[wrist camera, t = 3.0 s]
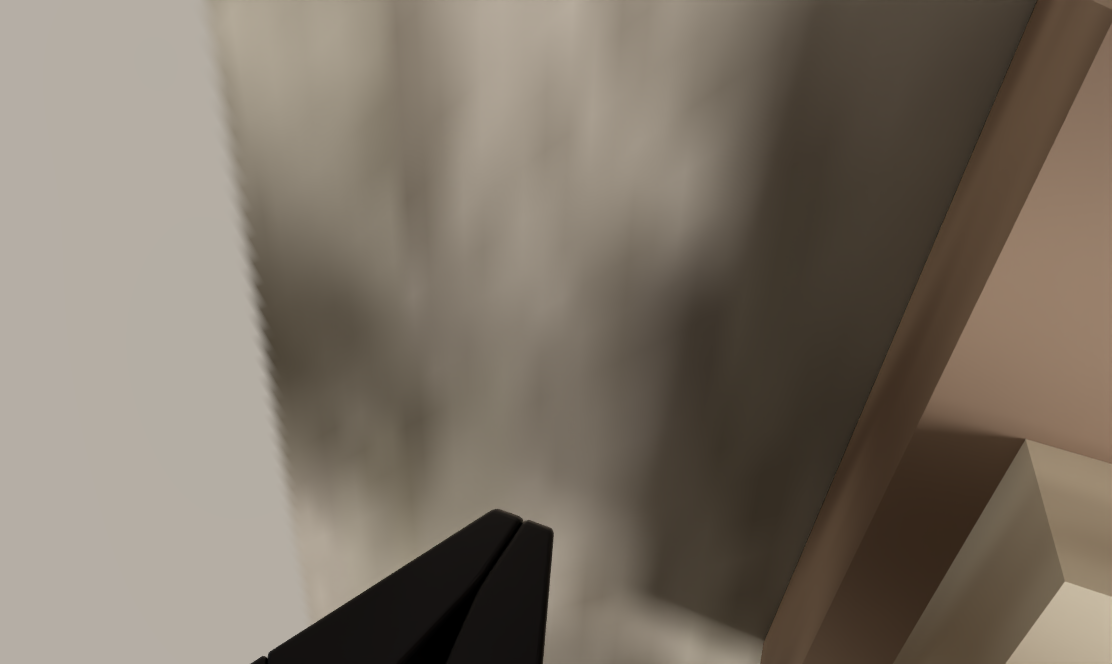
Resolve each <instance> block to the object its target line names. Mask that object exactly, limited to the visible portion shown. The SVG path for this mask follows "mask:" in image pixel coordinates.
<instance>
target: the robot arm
mask: <svg viewBox="0 0 1112 664" xmlns="http://www.w3.org/2000/svg"><path fill="white" fill-rule="evenodd" d="M553 537H554V532H553V530H552V529H551V528H549V527H547V526H544V525H541V524H539V523H536V522H533V521H530V520H527V521H525V522H523V519H522V518H521V517H519V516H517V515H514V514H511V513H509V512H506V511H503V510H500V509H494V510H491V511H490V512H488V513H486V514H485V515H483V516H482V517H480V518H479V519H477V520H475V521H474V522H472V523H471V524H469V525H468V526H466V527H465V528H463V529H461V530H460V531H458V532H457V533H455V534H454V535H452V536H450V537H449V538H447V539H446V540H444V541H443V542H441V543H439V544H438V545H436V546H435V547H433V548H432V549H430V550H428V551H427V552H425V553H424V554H422V555H421V556H419V557H418V558H416V559H414V560H413V561H411V562H410V563H408V564H407V565H405V566H403V567H402V568H400V569H399V570H397V571H396V572H394V573H392V574H391V575H389V576H388V577H386V578H385V579H383V580H381V581H380V582H378V583H377V584H375V585H374V586H372V587H371V588H369V589H367V590H366V591H364V592H363V593H361V594H360V595H358V596H356V597H355V598H353V599H352V600H350V601H349V602H347V603H345V604H344V605H342V606H341V607H339V608H338V609H336V610H334V611H333V612H331V613H330V614H328V615H327V616H325V617H324V618H322V619H320V620H319V621H317V622H316V623H314V624H313V625H311V626H309V627H308V628H306V629H305V630H303V631H302V632H300V633H299V634H297V635H295V636H294V637H292V638H291V639H289V640H287V641H286V642H284V643H283V644H281V645H280V646H278V647H277V648H275V649H273V650H272V651H270V652H269V654H268V658H267V657H265V656H262V657H260V658H259V659H257V660H256V661H254V662H253V663H251V664H543V657H544V645H545V633H546V621H547V609H548V597H549V585H550V573H551V561H552V549H553Z"/></svg>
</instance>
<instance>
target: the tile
mask: <svg viewBox="0 0 1112 664" xmlns="http://www.w3.org/2000/svg"><path fill="white" fill-rule="evenodd" d="M893 664H1112V464H1110V463H1107V462H1103V461H1100V460H1096V459H1093V458H1089V457H1086V456H1082V455H1079V454H1076V453H1072V452H1069V451H1065V450H1062V449H1058V448H1055V447H1051V446H1048V445H1044V444H1041V443H1038V442H1034V441H1031V440H1027V439H1025V441H1024V443H1023V444H1022V446H1021V448H1020V449H1019V451H1018V453H1017V455H1016V456H1015V458H1014V460H1013V461H1012V463H1011V465H1010V466H1009V468H1008V470H1007V471H1006V473H1005V475H1004V477H1003V478H1002V480H1001V482H1000V483H999V485H998V487H997V488H996V490H995V492H994V493H993V495H992V497H991V499H990V500H989V502H988V504H987V505H986V507H985V509H984V510H983V512H982V514H981V515H980V517H979V519H978V521H977V522H976V524H975V526H974V527H973V529H972V531H971V532H970V534H969V536H968V537H967V539H966V541H965V543H964V544H963V546H962V548H961V549H960V551H959V553H958V554H957V556H956V558H955V559H954V561H953V563H952V565H951V566H950V568H949V570H948V571H947V573H946V575H945V576H944V578H943V580H942V581H941V583H940V585H939V587H938V588H937V590H936V592H935V593H934V595H933V597H932V598H931V600H930V602H929V603H928V605H927V607H926V609H925V610H924V612H923V614H922V615H921V617H920V619H919V620H918V622H917V624H916V625H915V627H914V629H913V631H912V632H911V634H910V636H909V637H908V639H907V641H906V642H905V644H904V646H903V647H902V649H901V651H900V653H899V654H898V656H897V658H896V659H895V661H894V663H893Z"/></svg>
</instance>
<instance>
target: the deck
mask: <svg viewBox="0 0 1112 664" xmlns="http://www.w3.org/2000/svg"><path fill="white" fill-rule="evenodd" d="M1025 439H1027V440H1031V441H1034V442H1038V443H1041V444H1044V445H1048V446H1051V447H1055V448H1058V449H1062V450H1065V451H1069V452H1072V453H1076V454H1079V455H1082V456H1086V457H1089V458H1093V459H1096V460H1100V461H1103V462H1107V463H1110V464H1112V0H1037V3H1036V5H1035V7H1034V10H1033V12H1032V14H1031V17H1030V19H1029V21H1028V24H1027V26H1026V28H1025V31H1024V33H1023V36H1022V38H1021V40H1020V43H1019V45H1018V47H1017V50H1016V52H1015V54H1014V57H1013V59H1012V61H1011V64H1010V66H1009V68H1008V71H1007V73H1006V75H1005V78H1004V80H1003V82H1002V85H1001V87H1000V89H999V92H998V94H997V97H996V99H995V101H994V104H993V106H992V108H991V111H990V113H989V115H988V118H987V120H986V122H985V125H984V127H983V129H982V132H981V134H980V136H979V139H978V141H977V143H976V146H975V148H974V151H973V153H972V155H971V158H970V160H969V162H968V165H967V167H966V169H965V172H964V174H963V176H962V179H961V181H960V183H959V186H958V188H957V190H956V193H955V195H954V197H953V200H952V202H951V204H950V207H949V209H948V212H947V214H946V216H945V219H944V221H943V223H942V226H941V228H940V230H939V233H938V235H937V237H936V240H935V242H934V244H933V247H932V249H931V251H930V254H929V256H928V258H927V261H926V263H925V266H924V268H923V270H922V273H921V275H920V277H919V280H918V282H917V284H916V287H915V289H914V291H913V294H912V296H911V298H910V301H909V303H908V305H907V308H906V310H905V312H904V315H903V317H902V319H901V322H900V324H899V327H898V329H897V331H896V334H895V336H894V338H893V341H892V343H891V345H890V348H889V350H888V352H887V355H886V357H885V359H884V362H883V364H882V366H881V369H880V371H879V373H878V376H877V378H876V380H875V383H874V385H873V388H872V390H871V392H870V395H869V397H868V399H867V402H866V404H865V406H864V409H863V411H862V413H861V416H860V418H859V420H858V423H857V425H856V427H855V430H854V432H853V434H852V437H851V439H850V442H849V444H848V446H847V449H846V451H845V453H844V456H843V458H842V460H841V463H840V465H839V467H838V470H837V472H836V474H835V477H834V479H833V481H832V484H831V486H830V488H829V491H828V493H827V495H826V498H825V500H824V503H823V505H822V507H821V510H820V512H819V514H818V517H817V519H816V521H815V524H814V526H813V528H812V531H811V533H810V535H809V538H808V540H807V542H806V545H805V547H804V549H803V552H802V554H801V556H800V559H799V561H798V564H797V566H796V568H795V571H794V573H793V575H792V578H791V580H790V582H789V585H788V587H787V589H786V592H785V594H784V596H783V599H782V601H781V603H780V606H779V608H778V610H777V613H776V615H775V618H774V620H773V622H772V625H771V627H770V629H769V632H768V634H767V636H766V639H765V641H764V644H763V651H762V657H761V664H893V663H894V661H895V659H896V658H897V656H898V654H899V653H900V651H901V649H902V647H903V646H904V644H905V642H906V641H907V639H908V637H909V636H910V634H911V632H912V631H913V629H914V627H915V625H916V624H917V622H918V620H919V619H920V617H921V615H922V614H923V612H924V610H925V609H926V607H927V605H928V603H929V602H930V600H931V598H932V597H933V595H934V593H935V592H936V590H937V588H938V587H939V585H940V583H941V581H942V580H943V578H944V576H945V575H946V573H947V571H948V570H949V568H950V566H951V565H952V563H953V561H954V559H955V558H956V556H957V554H958V553H959V551H960V549H961V548H962V546H963V544H964V543H965V541H966V539H967V537H968V536H969V534H970V532H971V531H972V529H973V527H974V526H975V524H976V522H977V521H978V519H979V517H980V515H981V514H982V512H983V510H984V509H985V507H986V505H987V504H988V502H989V500H990V499H991V497H992V495H993V493H994V492H995V490H996V488H997V487H998V485H999V483H1000V482H1001V480H1002V478H1003V477H1004V475H1005V473H1006V471H1007V470H1008V468H1009V466H1010V465H1011V463H1012V461H1013V460H1014V458H1015V456H1016V455H1017V453H1018V451H1019V449H1020V448H1021V446H1022V444H1023V443H1024V441H1025Z"/></svg>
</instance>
